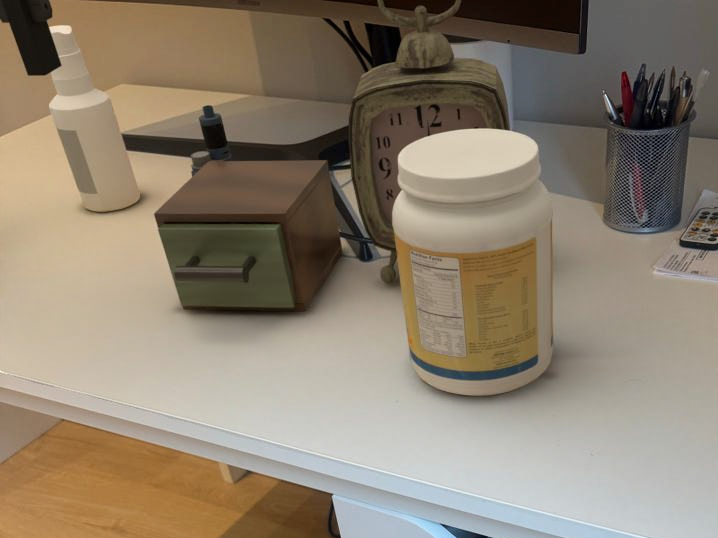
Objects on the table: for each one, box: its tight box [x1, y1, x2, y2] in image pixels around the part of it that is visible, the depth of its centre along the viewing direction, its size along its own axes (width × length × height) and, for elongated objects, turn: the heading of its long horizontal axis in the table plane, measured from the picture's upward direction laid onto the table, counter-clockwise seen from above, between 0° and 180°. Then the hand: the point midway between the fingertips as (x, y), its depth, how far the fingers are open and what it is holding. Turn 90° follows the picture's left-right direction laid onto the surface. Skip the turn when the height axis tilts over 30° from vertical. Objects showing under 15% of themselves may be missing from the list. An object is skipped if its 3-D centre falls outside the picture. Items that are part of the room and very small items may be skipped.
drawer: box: [157, 222, 297, 308], centre depth 86 cm, size 16×11×7 cm
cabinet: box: [153, 159, 343, 312], centre depth 89 cm, size 14×13×9 cm
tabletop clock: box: [347, 0, 511, 284], centre depth 82 cm, size 14×9×25 cm, turn 89°
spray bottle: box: [48, 24, 141, 213], centre depth 104 cm, size 7×7×18 cm
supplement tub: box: [392, 129, 554, 397], centre depth 71 cm, size 12×12×17 cm
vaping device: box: [190, 104, 233, 178], centre depth 98 cm, size 3×5×12 cm, turn 147°
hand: (44, 70), depth 71 cm, fingers closed
